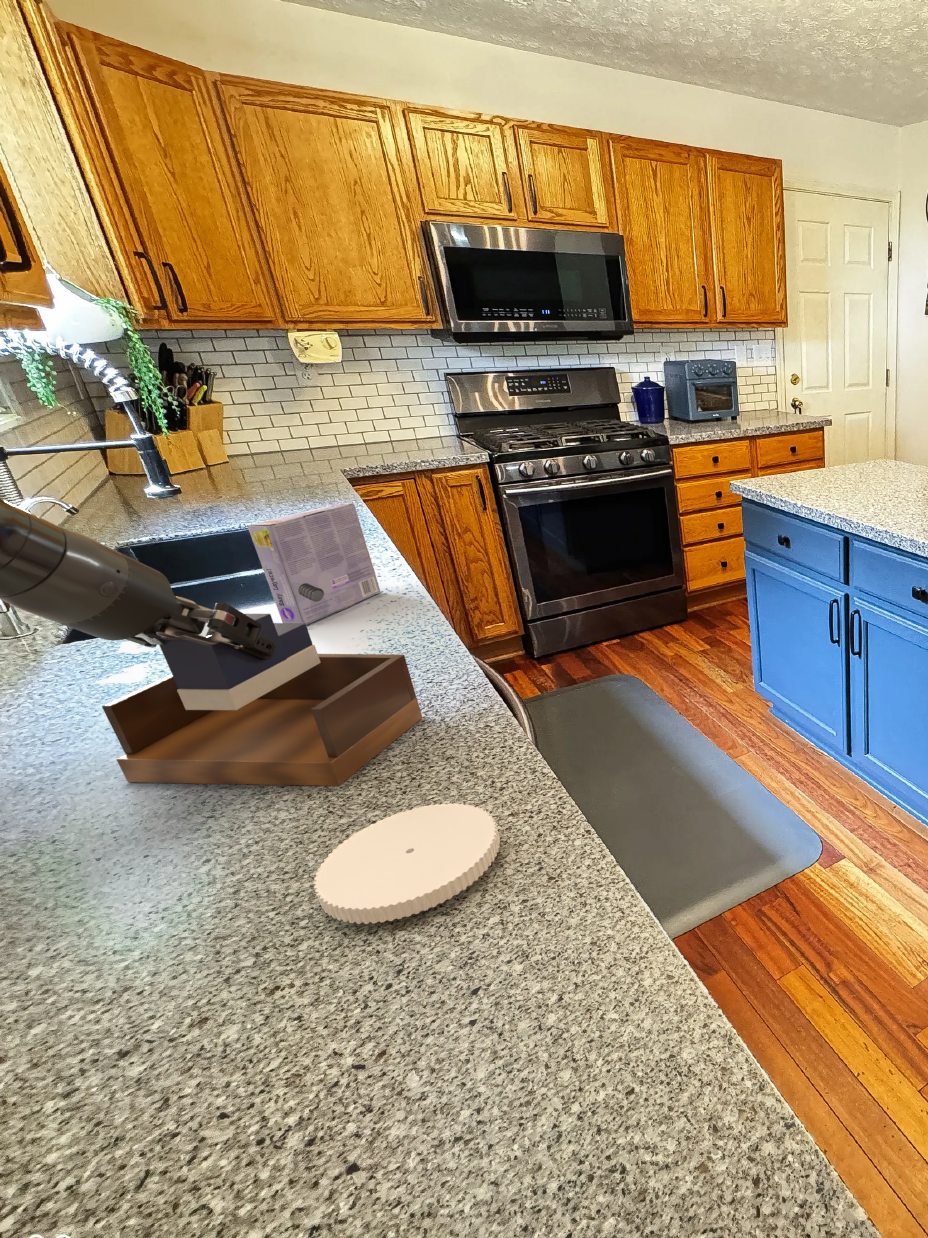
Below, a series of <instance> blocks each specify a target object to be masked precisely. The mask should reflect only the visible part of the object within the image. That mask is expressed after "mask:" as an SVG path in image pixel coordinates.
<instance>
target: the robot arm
mask: <svg viewBox="0 0 928 1238" xmlns="http://www.w3.org/2000/svg"><path fill="white" fill-rule="evenodd" d="M0 600H1V601H3V602H5V603H7V604H9V605H11V606H13V607H15V608H17V609H19V610H21V611H24V612H26V613H29V614H31V615H34V616H38V617H41V618H43V619H46V620H49V621H51V622H54V623H57V624H60V625H63V626H66V627H68V628H71V629H74V630H76V631H79V632H82V633H84V634H87V635H90V636H93V637H96V638H98V639H101V640H105V641H123V640H126V641H129V642H131V643H136V644H139V645H142V646H144V647H146V648H156V647H157V646H159V645H165V639H167V638H171V639H175V638H180V639H184V640H187V641H191V642H194V643H198V644H202V645H214V644H217V643H220V644H222V645H225V646H227V647H230V648H233V649H236V650H239V651H241V652H244V653H246V654H248V655H251V656H253V657H255V658H258V659H260V660H270V659H271V658H272V655H273V652H274V649H275V646H276V644H275V642H274V641H272V640H270V639H267V638H265V637H263V636H261V635H260V632H261V629H262V627H263V625H262V624H260V623H258V622H257V621H255V620H254V619H252V618H250V617H249V616H247V615H245V614H246V613H244V612H242V611H240V610H239V609H237V608H235V607H234V606H232V605H230V604H228V603H225V602H216V603H215V605H214V607H213V609H211V608H209V607H206V606H203V605H199V604H197V603H196V602H195V601H194V600H192V599H188V598H185V597H183V596H177V595H175V594H174V592H173V588H172V586H171V584H170V580H169V579H168V578H167V577H166V576H165V575H164V574H163V573H162V572H161V571H159V570H157V569H155V568H153V567H151V566H148V565H146V564H144V563H142V562H140V561H139V560H136V559H134V558H132V557H130V556H128V555H126V554H124V553H123V552H120V551H117V550H116V549H113V548H111V547H109V546H108V545H106V544H103V543H101V542H99V541H97V540H95V539H93V538H91V537H88V536H86V535H84V534H81V533H78V532H76V531H72V530H69V529H67V528H64V527H62V526H60V525H57V524H54V523H52V522H50V521H48V520H46V519H44V518H42V517H40V516H38V515H36V514H34V513H32V512H29V511H28V510H25V509H23V508H21V507H19V506H17V505H15V504H12V503H10V502H8V501H6V500H4V499H3V498H1V497H0ZM206 623H208V625H207V627H209V629H208V632H207V634H206V636H205V637H204V636H200V635H199V634H201V633H202V631H203V629H204V626H205V624H206ZM221 634H222V635H224V636H225V637H227V638H229V639H226V638H223V637H222V636H221ZM230 639H231V640H230Z"/></svg>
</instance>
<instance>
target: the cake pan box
mask: <svg viewBox="0 0 928 1238" xmlns="http://www.w3.org/2000/svg"><path fill="white" fill-rule="evenodd" d="M247 530H248V532H249V535H250V537H251V540H252V543H253V546H254V549H255V551H256V554H257V556H258V559H259V562H260V565H261V568H262V570H263V573H264V576H265V578H266V581H267V584H268V586H269V589H270V592H271V595H272V597H273V600H274V602H275V605H276V606H275V607H276V609H277V611H278V614H279V617H280V619H281V623H305V624H306V626H307V625H309V624H312V623H314V622H317V621H318V620H321V619H323V618H325V617H328V616H331V615H332V614H334V613H338V612H341V611H343V610H345V609H347V608H350V607H352V606H355V604H357V603H359V602H362V601H364V600H366V599H368V598H370V597H371V598H372V597H373V596H375V595H378V594H380V593H381V589H380V585H379V582H378V578H377V574H376V571H375V568H374V565H373V561H372V558H371V556H370V553H369V548H368V545H367V542H366V538H365V535H364V532H363V529H362V524H361V522H360V518H359V515H358V511H357V509H356V504H354V502H352V503H351V502H349V503H338V504H330V505H326V506H322V507H318V508H315V509H314V508H313V509H310V510H306V511H301V512H297V513H293V514H292V513H291V514H287V515H284V516H280V517H276V518H272V519H268V520H263V521H259V522H255V523H251V524H247Z"/></svg>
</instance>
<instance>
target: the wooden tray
mask: <svg viewBox="0 0 928 1238" xmlns="http://www.w3.org/2000/svg"><path fill="white" fill-rule="evenodd" d="M318 656H319V659H320V662H321V663H319V664H318V665H316V666H314V667H312V668H310V669H309V670H307V671H305V672H303V673H302V674H300V675H298V676H296V677H294V678H293V679H291V680H289V681H287V682H286V683H284V684H282V685H280V686H279V687H277V688H275V689H273V690H271V691H270V692H268V693H266V694H264V695H263V696H261V697H259V698H257V699H256V700H254V701H252V702H250V703H248V704H247V705H245V706H243V707H241V708H240V709H238V710H186V709H185V707H184V705H183V702H182V700H181V698H180V696H179V693H178V691H177V690H178V689H179V688H178V686H177V684H176V682H175V679H174V677H173V675H172V673H170V674H168V675H166V676H164V677H162V678H159V679H158V680H155V681H153V682H151V683H148V684H146V685H144V686H142V687H140V688H138V689H136V690H134V691H132V692H129V693H127V694H125V695H123V696H121V697H118V698H116V699H114V700H112V701H109V702H108V703H105V704H104V705H101V708H102V710H103V712H104V715H105V717H106V718H107V721H108V722H109V724H110V727H111V729H112V730H113V732H114V734H115V736H116V738H117V740H118V743H119V744H120V746H121V748H122V751H123V752H124V755H121V756H120V757H118V758H117V759H116V761H117V764H118V766H119V768H120V770H121V772H122V774H123V776H124V778H125V780H126V782H127V783H146V784H147V783H148V784H151V783H152V784H153V783H154V784H155V783H157V784H202V785H203V784H206V785H207V784H209V785H212V784H213V785H263V786H265V785H266V786H267V785H268V786H269V785H271V786H318V787H319V786H320V787H321V786H324V787H326V786H327V787H329V786H330V787H337V786H338V787H339V786H340V785H342V784H343V783H345V782H346V781H347V780H348V779H349V778H351V776H353V775H354V774H355V773H357V772H358V771H359V770H360V769H362V768H363V767H365V765H366V764H368V763H369V762H370V761H372V760H373V759H374V758H375V757H376V756H378V755H379V754H381V752H383V751H384V750H385V749H386V748H387V747H389V746H390V745H391V744H392V743H394V742H395V741H396V740H397V739H399V738H400V737H401V736H402V735H403V734H405V733H406V732H407V731H409V730H410V729H411V728H412V727H413V726H414V725H416V724H417V723H418V722H419V721H420V720H422V719H423V715H422V714H423V713H422V711H421V708H420V705H419V700H418V697H417V694H416V690H415V688H414V684H413V681H412V677H411V674H410V670H409V666H408V664H407V663H408V662H407V660H406V657H405V654H391V653H390V654H389V653H387V654H386V653H385V654H383V653H381V654H380V653H378V654H375V653H318Z"/></svg>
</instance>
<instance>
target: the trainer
mask: <svg viewBox="0 0 928 1238" xmlns="http://www.w3.org/2000/svg"><path fill="white" fill-rule="evenodd" d="M244 614H245V615H247V616H249V617H250V618H252V619H254V620H255V621H257V622H258V623H260V624H262V625H263V627H262V629H261V632H260V635H261V636H263V637H265V638H267V639H270V640H272V641H274V642H275V644H276V646H275V649H274V652H273V655H272V658H271V659H270V660H260V659H258V658H255V657H253V656H251V655H248V654H246V653H244V652H241V651H239V650H236V649H233V648H230V647H227V646H225V645H222V644H220V643H217V644H214V645H202V644H198V643H194V642H191V641H187V640H184V639H180V638H175V639H171V638H167V639H165V645H158V646H159V648H160V650H161V652H162V655H163V657H164V660H165V662H166V663H167V666H168V668H169V670H170V672H171V673H170V674H172V675H173V677H174V679H175V682H176V684H177V686H178V688H179V689H178V690H177V691H178V693H179V696H180V698H181V700H182V702H183V705H184V707H185V709H186V710H238V709H240V708H241V707H243V706H245V705H247V704H248V703H250V702H252V701H254V700H256V699H257V698H259V697H261V696H263V695H264V694H266V693H268V692H270V691H271V690H273V689H275V688H277V687H279V686H280V685H282V684H284V683H286V682H287V681H289V680H291V679H293V678H294V677H296V676H298V675H300V674H302V673H303V672H305V671H307V670H309V669H310V668H312V667H314V666H316V665H318V664H319V663H321V662H320V659H319V656H318V654H319V653H318V651H317V648H316V645H315V644H313V641H312V638H311V636H310V633H309V629H308V627H307V625H306V624H305V623H283V622H274V619H273V617H272V614H271V613H244ZM207 625H208V623H206V624H205V626H204V629H203V631H202V633H201V634H199V635H200V636H204V637H205V636H206V634H207V632H208V629H209V627H207ZM221 636H222V637H223V638H226V639H229V638H227V637H225V636H224V635H222V634H221ZM230 640H231V639H230Z"/></svg>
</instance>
